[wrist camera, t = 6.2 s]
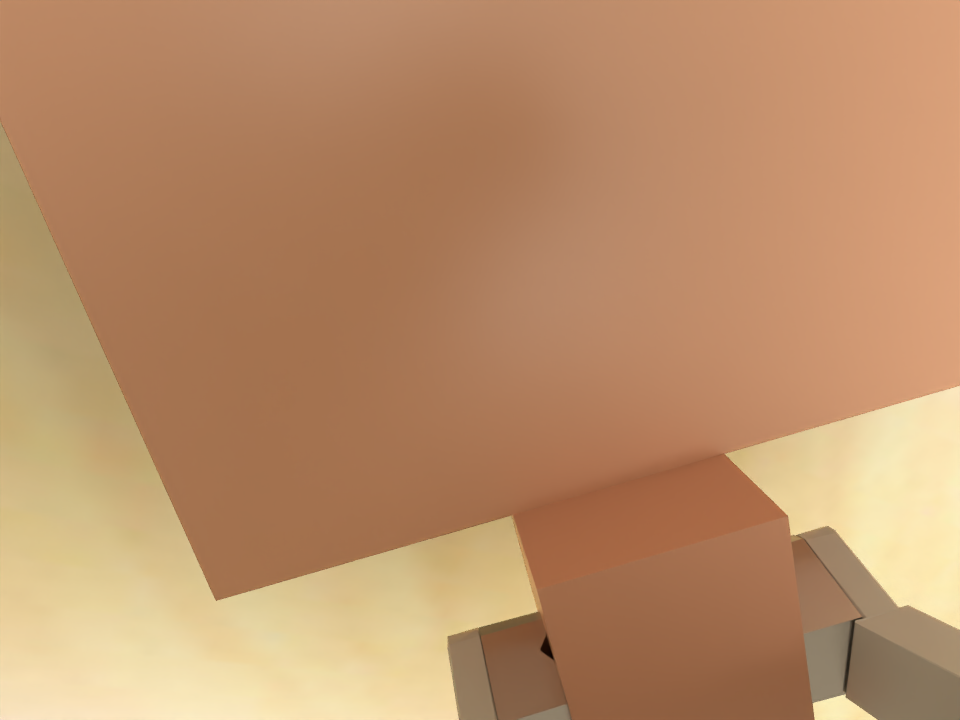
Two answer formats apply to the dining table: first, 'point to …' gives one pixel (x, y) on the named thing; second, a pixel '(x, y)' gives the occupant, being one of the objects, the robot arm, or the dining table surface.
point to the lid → (508, 286)
